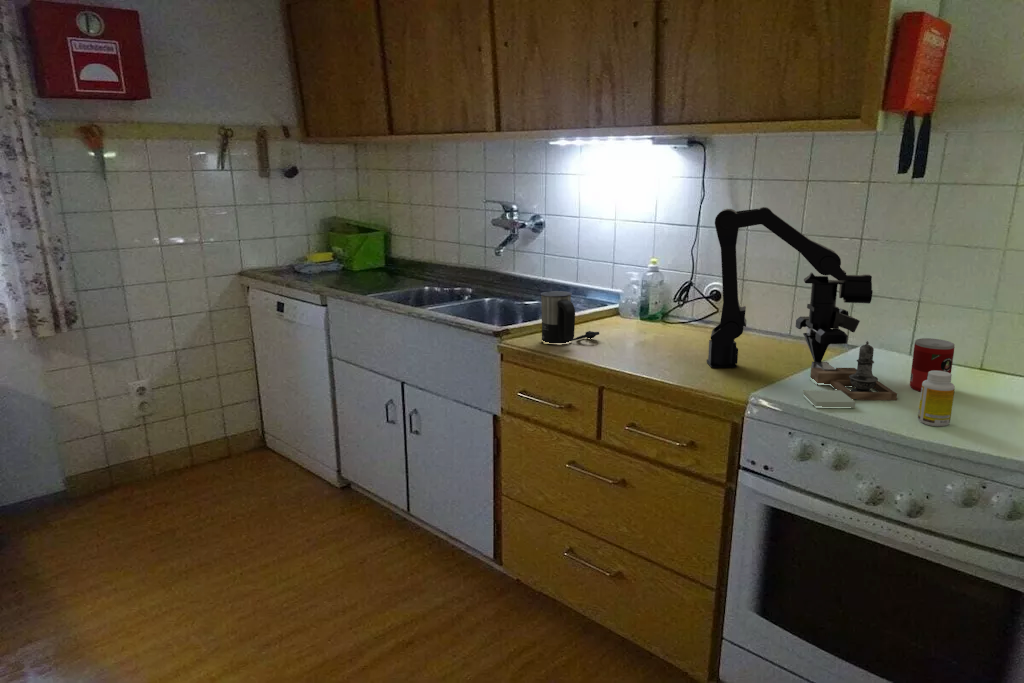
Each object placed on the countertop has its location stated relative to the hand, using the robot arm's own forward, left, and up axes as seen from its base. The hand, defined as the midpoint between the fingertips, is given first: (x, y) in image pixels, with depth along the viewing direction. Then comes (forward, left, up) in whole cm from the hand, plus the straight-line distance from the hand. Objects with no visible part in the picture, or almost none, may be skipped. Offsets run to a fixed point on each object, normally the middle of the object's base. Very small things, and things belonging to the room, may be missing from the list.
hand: (817, 363), depth 176 cm
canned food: (+20, -14, -2) cm, 25 cm away
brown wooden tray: (+3, -15, -2) cm, 15 cm away
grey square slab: (-6, -24, -2) cm, 25 cm away
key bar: (0, -5, -2) cm, 6 cm away
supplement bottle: (+10, -36, -2) cm, 38 cm away
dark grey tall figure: (+4, -17, -2) cm, 18 cm away
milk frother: (-61, +31, -2) cm, 68 cm away
